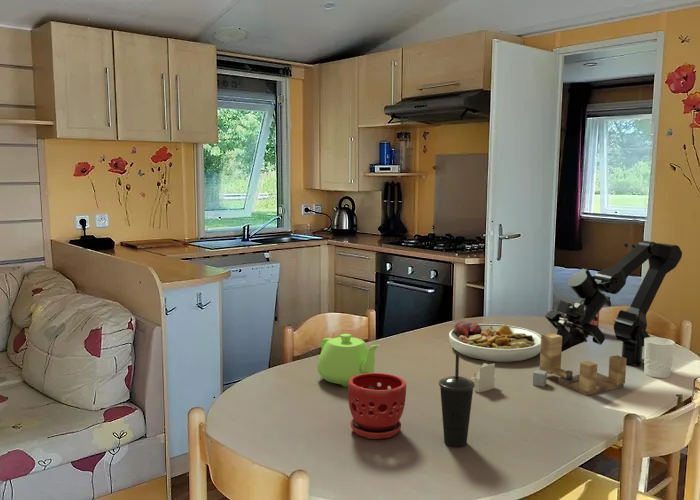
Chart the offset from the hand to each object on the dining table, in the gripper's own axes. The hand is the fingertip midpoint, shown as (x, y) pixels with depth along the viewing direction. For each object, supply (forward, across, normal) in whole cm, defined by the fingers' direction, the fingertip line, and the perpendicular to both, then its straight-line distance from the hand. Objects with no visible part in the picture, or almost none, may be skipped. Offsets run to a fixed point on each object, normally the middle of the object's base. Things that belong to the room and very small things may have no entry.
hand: (557, 349), depth 179 cm
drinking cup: (+41, +25, -31) cm, 57 cm away
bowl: (+6, -28, +6) cm, 29 cm away
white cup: (-14, +11, +25) cm, 31 cm away
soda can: (-24, -31, +37) cm, 54 cm away
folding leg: (+6, +3, +3) cm, 7 cm away
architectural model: (+24, 0, -12) cm, 27 cm away
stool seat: (+3, +10, +8) cm, 13 cm away
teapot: (+45, -21, -34) cm, 60 cm away
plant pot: (+50, +12, -40) cm, 65 cm away
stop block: (+12, +4, -1) cm, 12 cm away
